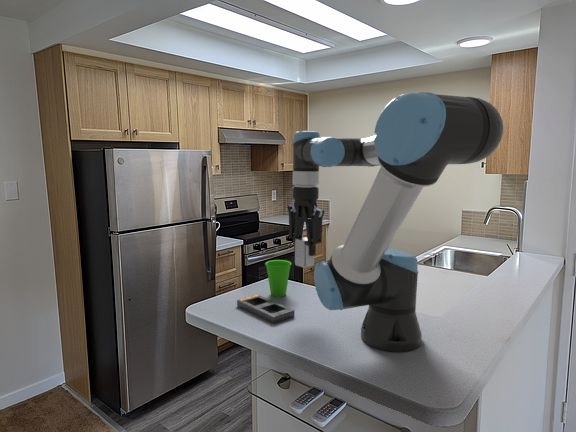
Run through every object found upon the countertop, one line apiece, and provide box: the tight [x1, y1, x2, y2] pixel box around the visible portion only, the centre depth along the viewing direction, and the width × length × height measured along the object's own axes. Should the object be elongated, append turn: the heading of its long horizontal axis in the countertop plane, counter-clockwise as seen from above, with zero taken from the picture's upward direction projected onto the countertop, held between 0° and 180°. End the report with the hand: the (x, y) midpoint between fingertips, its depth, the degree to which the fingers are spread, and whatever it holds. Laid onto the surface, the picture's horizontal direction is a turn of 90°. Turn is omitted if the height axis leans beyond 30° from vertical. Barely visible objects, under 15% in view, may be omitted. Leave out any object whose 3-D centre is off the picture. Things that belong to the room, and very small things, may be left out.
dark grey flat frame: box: [236, 294, 295, 325], centre depth 120 cm, size 18×8×2 cm, turn 42°
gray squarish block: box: [294, 236, 308, 269], centre depth 116 cm, size 4×4×8 cm
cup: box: [264, 259, 293, 298], centre depth 134 cm, size 9×9×11 cm
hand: (304, 264), depth 117 cm, fingers closed on gray squarish block, 4 cm apart
